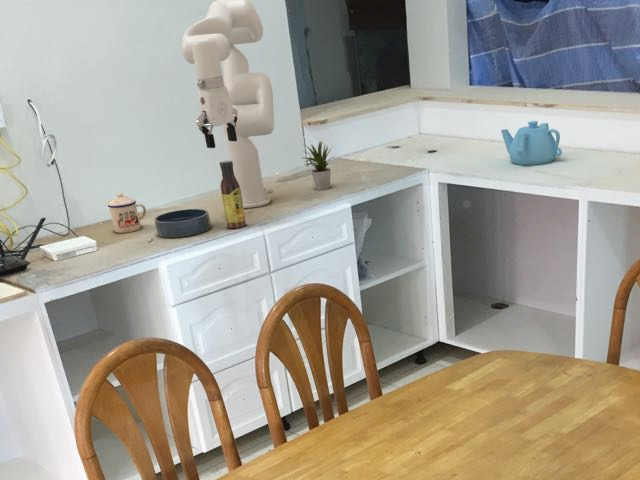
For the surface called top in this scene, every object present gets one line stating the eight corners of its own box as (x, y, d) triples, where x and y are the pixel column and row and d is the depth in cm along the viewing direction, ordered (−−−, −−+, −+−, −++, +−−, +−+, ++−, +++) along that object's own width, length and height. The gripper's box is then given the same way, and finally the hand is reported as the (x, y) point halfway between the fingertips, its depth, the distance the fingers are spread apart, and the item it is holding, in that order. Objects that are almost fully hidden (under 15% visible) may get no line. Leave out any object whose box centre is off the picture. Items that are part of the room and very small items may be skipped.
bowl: (185, 222, 313) (182, 207, 310) (221, 226, 304) (219, 210, 301) (146, 236, 301) (143, 220, 299) (183, 240, 292) (180, 224, 290)
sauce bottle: (242, 228, 299) (231, 163, 288) (224, 229, 300) (212, 164, 289) (249, 223, 304) (238, 159, 294) (231, 224, 305) (219, 160, 295)
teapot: (549, 153, 359) (549, 114, 351) (566, 162, 343) (566, 121, 335) (501, 160, 357) (500, 121, 349) (516, 169, 341) (515, 128, 333)
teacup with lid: (119, 234, 306) (110, 198, 300) (110, 230, 313) (101, 194, 307) (153, 227, 311) (145, 191, 305) (144, 223, 318) (136, 187, 312)
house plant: (304, 185, 349) (298, 138, 340) (341, 181, 348) (335, 134, 339) (301, 193, 337) (294, 145, 328) (339, 189, 336) (333, 141, 327)
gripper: (199, 89, 272) (211, 151, 282) (239, 79, 284) (249, 139, 293) (181, 88, 276) (194, 150, 286) (222, 79, 288) (232, 138, 297)
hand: (222, 144), depth 289 cm, fingers open, 9 cm apart
